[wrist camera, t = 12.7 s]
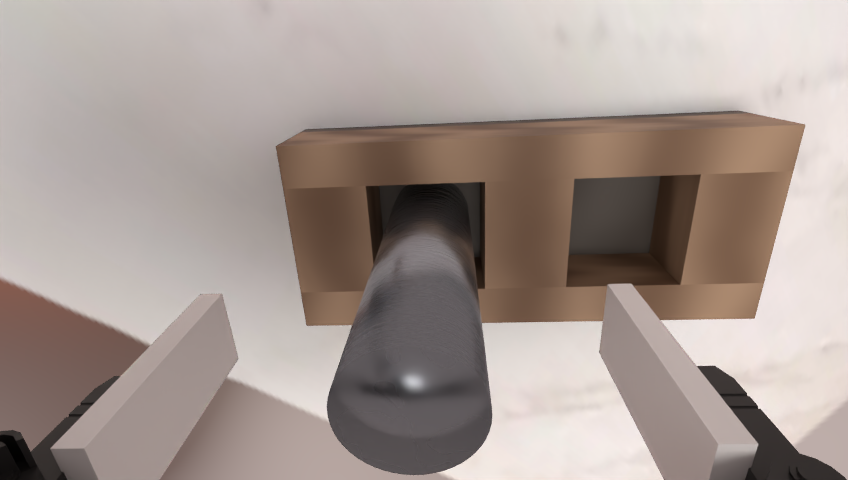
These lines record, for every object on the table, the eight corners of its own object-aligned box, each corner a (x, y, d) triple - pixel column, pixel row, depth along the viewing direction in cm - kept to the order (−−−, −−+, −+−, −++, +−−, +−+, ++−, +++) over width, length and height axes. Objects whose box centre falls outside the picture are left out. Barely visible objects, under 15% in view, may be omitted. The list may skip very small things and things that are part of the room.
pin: (396, 248, 28) (338, 474, 13) (390, 178, 26) (315, 348, 11) (469, 246, 28) (491, 475, 13) (468, 175, 26) (492, 345, 11)
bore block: (328, 283, 30) (306, 325, 26) (305, 129, 26) (275, 146, 22) (705, 275, 29) (754, 318, 24) (739, 110, 25) (805, 124, 20)
